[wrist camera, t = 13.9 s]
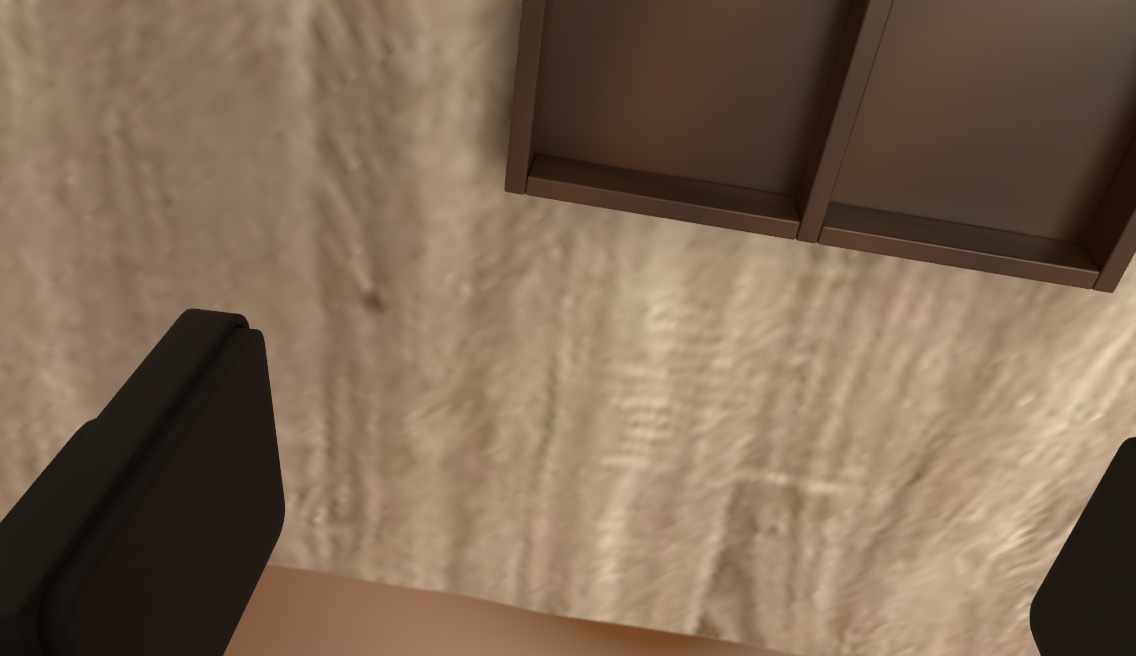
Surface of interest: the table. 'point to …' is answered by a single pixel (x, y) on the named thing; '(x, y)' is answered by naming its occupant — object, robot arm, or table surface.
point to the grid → (845, 124)
